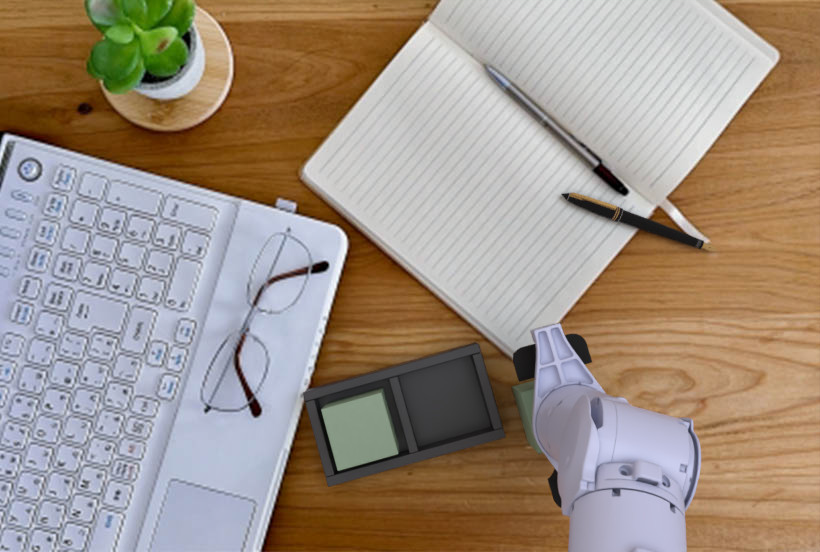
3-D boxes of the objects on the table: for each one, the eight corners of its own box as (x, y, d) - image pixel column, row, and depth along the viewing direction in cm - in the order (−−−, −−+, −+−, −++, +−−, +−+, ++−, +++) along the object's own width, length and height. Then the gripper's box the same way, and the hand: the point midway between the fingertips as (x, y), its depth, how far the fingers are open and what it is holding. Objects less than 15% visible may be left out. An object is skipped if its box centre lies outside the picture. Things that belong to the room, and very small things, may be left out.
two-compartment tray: (501, 432, 70) (510, 443, 64) (331, 479, 70) (324, 495, 64) (475, 341, 71) (481, 344, 65) (307, 389, 71) (297, 396, 65)
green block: (584, 427, 70) (599, 437, 64) (528, 443, 70) (538, 454, 64) (567, 370, 70) (581, 375, 65) (511, 386, 70) (520, 392, 65)
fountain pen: (720, 246, 71) (726, 244, 69) (715, 258, 70) (722, 257, 69) (561, 188, 72) (565, 186, 70) (557, 201, 71) (560, 198, 70)
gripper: (682, 526, 53) (626, 483, 67) (616, 311, 55) (574, 311, 68) (577, 554, 53) (543, 506, 67) (514, 340, 55) (492, 334, 68)
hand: (553, 409), depth 68 cm, fingers open, 7 cm apart
